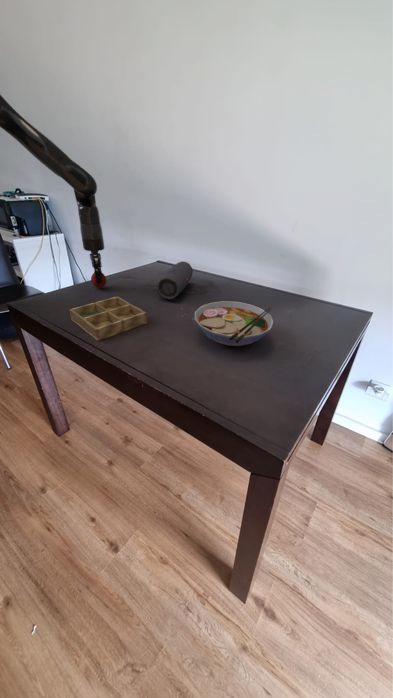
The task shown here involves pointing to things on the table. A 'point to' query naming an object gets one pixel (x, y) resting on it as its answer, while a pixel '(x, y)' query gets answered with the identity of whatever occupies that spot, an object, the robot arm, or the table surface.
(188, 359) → the table surface
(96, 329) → the compartment tray
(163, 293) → the bluetooth speaker
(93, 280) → the onion
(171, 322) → the table surface
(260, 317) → the ramen bowl
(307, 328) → the table surface
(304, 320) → the table surface
